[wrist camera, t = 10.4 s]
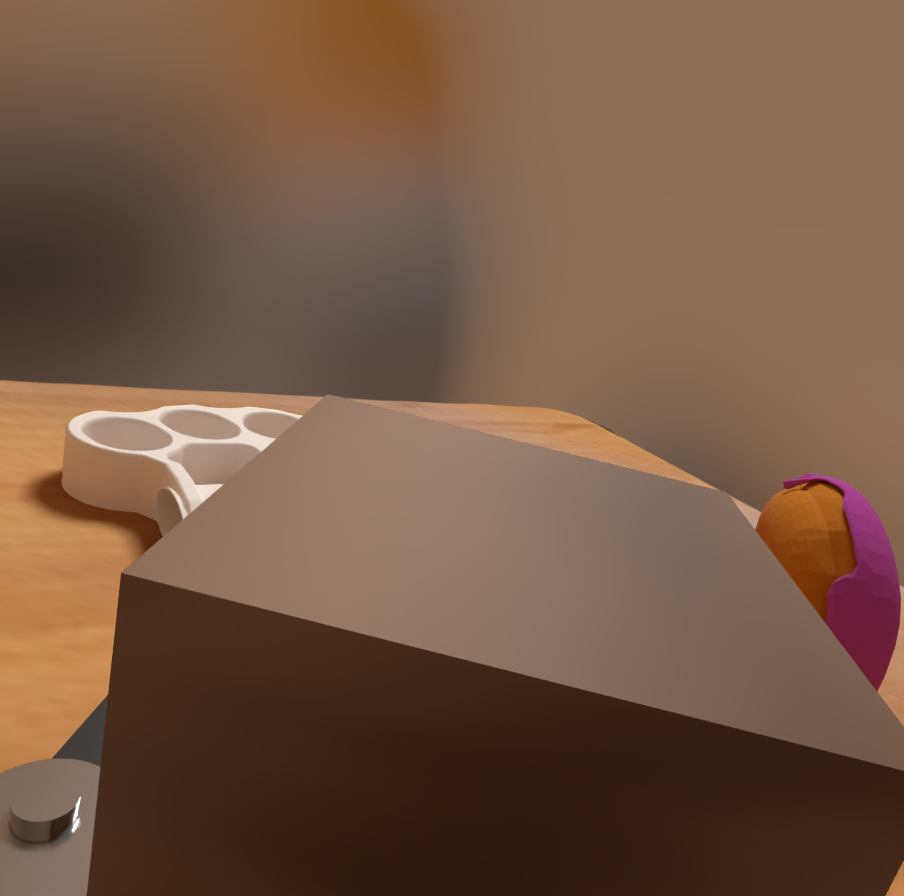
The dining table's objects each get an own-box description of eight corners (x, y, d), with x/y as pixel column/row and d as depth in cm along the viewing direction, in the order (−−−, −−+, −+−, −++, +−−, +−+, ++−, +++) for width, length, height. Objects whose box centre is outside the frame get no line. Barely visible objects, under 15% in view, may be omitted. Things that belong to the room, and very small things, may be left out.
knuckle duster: (100, 586, 31) (43, 448, 42) (453, 550, 42) (335, 448, 53) (108, 511, 30) (47, 390, 41) (468, 494, 41) (344, 402, 52)
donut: (892, 706, 36) (985, 516, 33) (825, 780, 29) (934, 550, 26) (738, 620, 41) (807, 448, 38) (651, 666, 34) (726, 462, 31)
